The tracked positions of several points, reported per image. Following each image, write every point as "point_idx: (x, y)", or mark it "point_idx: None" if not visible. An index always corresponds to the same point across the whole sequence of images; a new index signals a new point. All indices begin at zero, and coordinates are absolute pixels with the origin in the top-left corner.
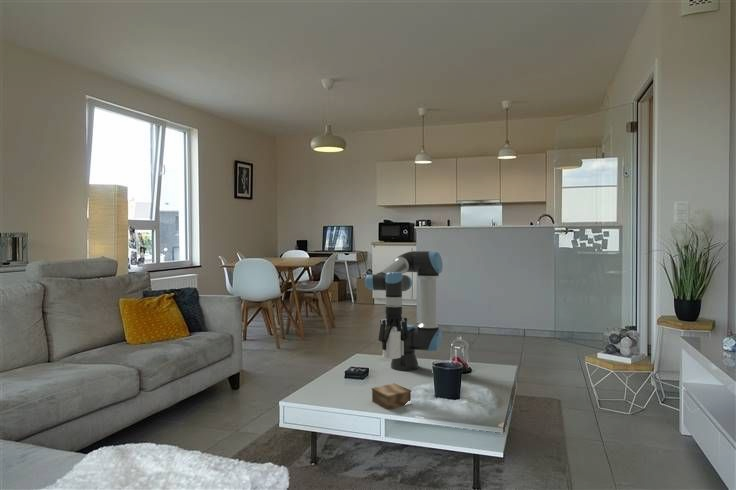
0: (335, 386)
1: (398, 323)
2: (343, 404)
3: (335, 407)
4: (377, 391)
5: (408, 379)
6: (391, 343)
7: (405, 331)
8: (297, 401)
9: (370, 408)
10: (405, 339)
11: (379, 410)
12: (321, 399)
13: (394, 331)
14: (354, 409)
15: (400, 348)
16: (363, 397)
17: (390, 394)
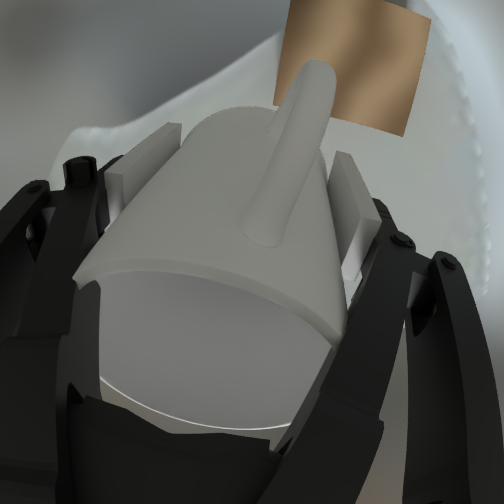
0: None
1: (47, 457)
2: (453, 181)
3: (481, 182)
4: (414, 92)
5: None
6: (314, 196)
7: (2, 247)
8: (477, 282)
9: (436, 84)
10: (76, 167)
11: (430, 47)
12: None
13: (119, 360)
14: (469, 124)
15: (179, 149)
16: (365, 176)
17: (413, 19)
